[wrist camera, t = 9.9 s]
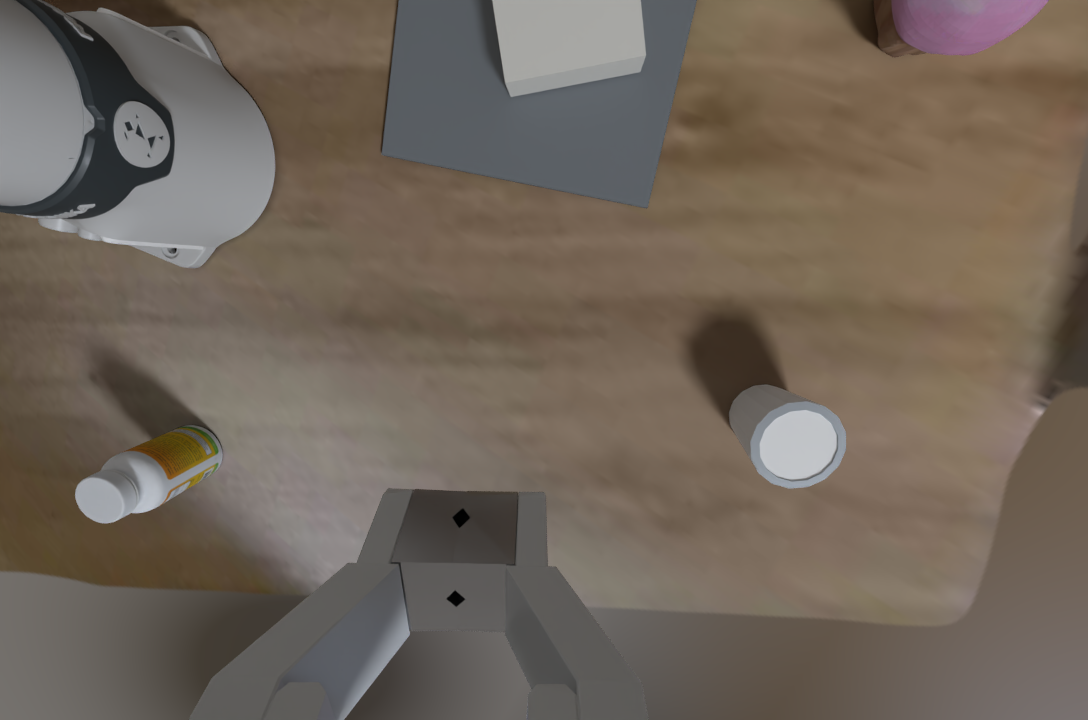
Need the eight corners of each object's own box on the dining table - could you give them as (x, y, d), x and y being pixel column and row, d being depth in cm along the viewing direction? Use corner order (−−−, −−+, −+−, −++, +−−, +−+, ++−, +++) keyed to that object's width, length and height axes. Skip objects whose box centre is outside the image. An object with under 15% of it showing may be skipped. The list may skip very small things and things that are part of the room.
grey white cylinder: (706, 430, 42) (732, 464, 35) (747, 363, 40) (783, 385, 33) (774, 464, 42) (813, 504, 35) (817, 398, 40) (867, 427, 33)
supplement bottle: (171, 419, 45) (62, 462, 35) (225, 429, 45) (130, 475, 35) (172, 470, 46) (67, 525, 36) (224, 479, 46) (133, 537, 36)
